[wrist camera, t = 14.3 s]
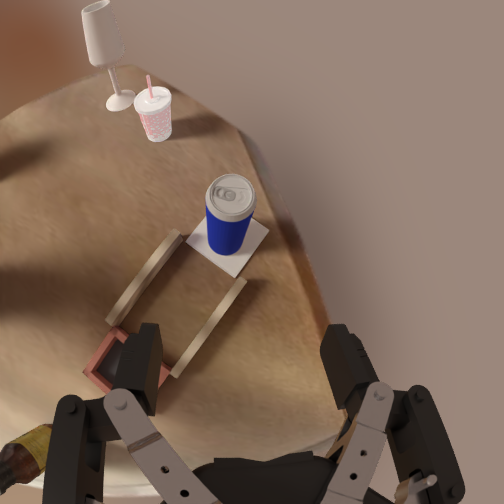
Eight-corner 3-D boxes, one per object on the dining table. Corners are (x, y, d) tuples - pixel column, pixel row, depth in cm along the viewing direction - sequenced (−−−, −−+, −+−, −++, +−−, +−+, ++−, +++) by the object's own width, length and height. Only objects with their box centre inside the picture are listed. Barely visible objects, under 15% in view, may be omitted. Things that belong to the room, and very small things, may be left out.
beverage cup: (182, 127, 46) (177, 70, 33) (161, 150, 44) (147, 93, 31) (158, 116, 46) (147, 60, 33) (136, 137, 44) (119, 82, 31)
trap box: (140, 413, 33) (136, 417, 31) (89, 370, 34) (82, 372, 31) (173, 369, 36) (170, 372, 33) (119, 325, 36) (113, 325, 34)
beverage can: (245, 227, 42) (262, 177, 28) (238, 260, 41) (252, 223, 26) (212, 220, 42) (212, 167, 27) (204, 252, 40) (199, 212, 26)
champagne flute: (100, 102, 46) (70, 13, 23) (126, 85, 48) (106, -5, 25) (114, 116, 45) (83, 19, 22) (141, 98, 47) (122, 0, 24)
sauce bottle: (42, 415, 30) (-31, 446, 11) (71, 434, 30) (4, 479, 11) (39, 443, 28) (-26, 479, 9) (67, 461, 28) (9, 510, 9)
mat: (234, 278, 40) (234, 277, 40) (185, 242, 41) (185, 241, 40) (269, 231, 43) (269, 230, 43) (221, 198, 43) (221, 197, 43)
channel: (179, 374, 36) (176, 378, 32) (113, 320, 36) (104, 319, 33) (244, 285, 40) (247, 281, 37) (176, 235, 41) (173, 228, 37)
